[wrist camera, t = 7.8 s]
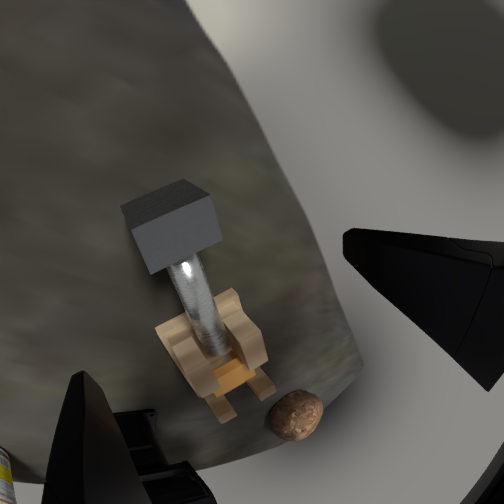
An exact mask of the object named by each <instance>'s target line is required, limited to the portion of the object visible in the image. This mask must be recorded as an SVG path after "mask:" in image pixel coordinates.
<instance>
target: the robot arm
mask: <svg viewBox="0 0 504 504" xmlns="http://www.w3.org/2000/svg"><path fill="white" fill-rule="evenodd" d="M343 255H344V257H345V259H346V260H347V261H348V262H349V263H350V264H351V265H352V266H353V267H354V268H355V269H356V270H357V271H358V272H359V273H360V274H361V275H362V276H363V277H364V278H365V279H366V280H367V281H368V283H369V284H370V285H371V286H372V287H374V288H375V289H376V290H377V291H378V292H379V293H380V294H382V295H383V296H384V297H385V298H386V299H387V300H389V301H390V302H391V303H392V304H393V305H394V306H395V307H397V308H398V309H399V310H400V311H401V312H402V313H403V314H405V315H406V316H407V317H408V318H409V319H410V320H411V321H413V322H414V323H415V324H416V325H417V326H418V327H419V328H420V329H422V330H423V331H424V332H425V333H426V334H427V335H428V336H429V337H430V338H431V339H432V340H434V341H435V342H436V343H437V344H438V345H439V346H440V347H441V348H442V349H443V350H444V351H445V352H447V353H448V354H449V355H450V356H451V357H452V358H453V359H454V360H455V361H456V362H457V363H458V364H459V365H460V366H461V367H462V368H463V369H464V370H465V371H466V372H467V373H468V374H469V375H470V376H471V377H473V379H475V380H476V381H477V382H478V383H479V384H480V385H481V386H482V387H483V388H484V389H485V390H486V391H487V392H489V391H490V390H491V388H492V387H493V386H494V385H495V383H496V382H497V381H498V380H499V378H500V377H501V376H502V374H503V373H504V242H494V241H480V240H467V239H458V238H447V237H440V236H431V235H422V234H412V233H403V232H393V231H382V230H370V229H359V228H352V229H350V230H348V231H346V232H345V233H344V234H343ZM156 416H157V414H156V411H155V410H153V409H150V410H142V411H133V412H124V413H112V411H111V409H110V407H109V404H108V402H107V399H106V397H105V395H104V392H103V390H102V389H101V387H100V386H99V385H98V384H97V383H96V382H95V381H94V380H93V379H92V377H91V376H90V375H89V374H88V373H87V372H86V371H80V372H78V373H76V374H74V375H72V377H71V380H70V383H69V386H68V389H67V392H66V395H65V399H64V402H63V405H62V409H61V412H60V416H59V420H58V423H57V427H56V431H55V435H54V439H53V443H52V448H51V452H50V457H49V462H48V467H47V472H46V478H45V480H46V482H45V483H44V490H43V495H42V502H41V504H217V502H216V500H215V497H214V495H213V494H212V492H211V490H210V489H209V487H208V486H207V485H206V484H205V482H204V481H203V480H202V479H201V478H200V476H199V475H198V474H197V473H196V471H195V470H194V469H193V467H192V466H191V465H190V464H189V462H188V461H182V462H181V463H177V464H172V465H169V464H168V461H167V459H166V457H165V455H164V453H163V451H162V449H161V447H160V445H159V442H158V440H157V438H156V436H155V428H156ZM460 504H504V442H503V444H502V445H501V447H500V449H499V450H498V452H497V453H496V455H495V457H494V458H493V460H492V461H491V463H490V464H489V466H488V467H487V469H486V470H485V472H484V473H483V474H482V476H481V477H480V479H479V480H478V481H477V483H476V484H475V485H474V487H473V488H472V489H471V491H470V492H469V493H468V494H467V496H466V497H465V498H464V499H463V500H462V502H461V503H460Z"/></svg>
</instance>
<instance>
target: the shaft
mask: <svg viewBox="0 0 504 504" xmlns="http://www.w3.org/2000/svg"><path fill="white" fill-rule="evenodd" d="M120 207H121V209H122V212H123V214H124V217H125V219H126V222H127V224H128V226H129V229H130V231H131V234H132V236H133V238H134V241H135V243H136V245H137V247H138V249H139V252H140V254H141V256H142V258H143V260H144V262H145V264H146V266H147V268H148V270H149V272H150V274H153V273H155V272H157V271H159V270H161V269H163V268H167V271H168V273H169V275H170V278H171V280H172V282H173V284H174V287H175V289H176V291H177V294H178V296H179V298H180V300H181V302H182V305H183V307H184V309H185V311H186V313H187V315H188V318H189V320H190V322H191V324H192V326H193V328H194V330H195V332H196V334H197V336H198V338H199V340H200V342H201V345H202V347H203V349H204V351H205V352H206V353H207V354H208V355H210V356H219V355H222V354H224V353H225V352H226V351H227V350H228V349H229V347H230V340H229V337H228V335H227V332H226V329H225V327H224V324H223V321H222V319H221V316H220V313H219V310H218V308H217V305H216V302H215V300H214V297H213V294H212V291H211V288H210V286H209V283H208V280H207V277H206V274H205V271H204V268H203V266H202V263H201V260H200V257H199V254H198V252H199V251H201V250H203V249H205V248H207V247H209V246H211V245H213V244H215V243H218V242H220V241H222V240H223V238H222V234H221V230H220V227H219V223H218V219H217V216H216V212H215V208H214V204H213V201H212V197H211V195H210V194H209V193H207V192H205V191H204V190H202V189H200V188H198V187H197V186H195V185H193V184H192V183H190V182H188V181H186V180H185V179H182V180H180V181H177V182H175V183H172V184H170V185H167V186H165V187H162V188H160V189H158V190H155V191H153V192H151V193H148V194H146V195H144V196H141V197H139V198H137V199H134V200H132V201H130V202H128V203H126V204H123V205H121V206H120Z"/></svg>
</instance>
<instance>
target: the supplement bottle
mask: <svg viewBox="0 0 504 504" xmlns="http://www.w3.org/2000/svg"><path fill="white" fill-rule="evenodd" d="M0 504H17V503H16V498H15V493H14V487H13V481H12V474H11V466H10V459H9V456H8V455H7V453H6V452H5V451H4V450H2V449H1V448H0Z"/></svg>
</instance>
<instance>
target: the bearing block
mask: <svg viewBox="0 0 504 504" xmlns="http://www.w3.org/2000/svg"><path fill="white" fill-rule="evenodd" d="M214 300H215V302H216V305H217V308H218V310H219V313H220V316H221V319H222V321H223V324H224V327H225V329H226V332H227V335H228V337H229V340H230V347H229V349H228V350H227V351H226V352H225V353H224V354H222V355H219V356H210V355H208V354H207V353H206V352H205V351H204V349H203V347H202V345H201V342H200V340H199V338H198V336H197V334H196V332H195V330H194V328H193V326H192V324H191V322H190V320H189V318H188V315H187V313H186V312H184V313H182V314H180V315H178V316H176V317H174V318H173V319H171V320H169V321H167V322H165V323H163V324H161V325H159V326H157V327H155V330H156V332H157V334H158V336H159V338H160V339H161V341H162V343H163V344H164V346H165V347H166V349H167V351H168V352H169V354H170V355H171V357H172V358H173V360H174V362H175V363H176V365H177V366H178V368H179V369H180V371H181V372H182V374H183V375H184V377H185V378H186V380H187V381H188V383H189V384H190V386H191V387H192V388H193V390H194V391H195V393H196V394H197V396H198V397H199V398H200V397H202V398H205V400H206V402H207V403H208V405H209V407H210V408H211V410H212V411H213V413H214V415H215V416H216V418H217V419H218V421H219V422H220V423H221V425H222V424H223V423H225V422H227V421H229V420H231V419H232V418H234V417H236V416H237V414H236V412H235V411H234V409H233V408H232V406H231V405H230V403H229V402H228V400H227V399H226V397H225V396H224V394H223V395H221V396H219V397H216V396H215V394H214V392H215V391H217V390H219V389H221V386H220V384H219V382H218V381H217V379H216V377H215V375H214V373H213V371H214V370H216V369H217V368H219V367H221V366H223V365H225V364H226V363H228V362H230V361H232V360H233V359H234V358H233V356H232V354H231V351H232V350H234V351H235V353H236V354H237V355H238V357H239V358H240V359H241V360H242V362H243V363H244V364H245V366H246V367H247V368H248V369H249V371H252V370H255V373H256V375H255V376H254V377H252V378H250V379H249V380H247V381H245V382H246V383H247V384H248V385H249V386H250V388H251V389H252V390H253V392H254V393H255V394H256V395H257V397H258V398H259V399H260V400H261V401H263V400H264V399H266V398H268V397H269V396H271V395H272V394H274V393H276V388H275V384H274V383H273V382H272V381H271V380H270V379H269V377H268V376H267V375H266V374H265V373H264V372H263V370H262V369H261V368H260V367H259V366H260V365H262V364H263V363H265V362H267V361H268V357H267V353H266V349H265V345H264V341H263V337H262V334H261V331H260V329H259V328H258V327H257V326H256V325H255V324H254V323H253V322H252V321H251V320H250V319H249V318H248V317H247V315H246V314H245V313H244V312H243V310H242V307H241V304H240V300H239V297H238V294H237V293H236V292H235V291H234V289H233V288H230V289H228V290H226V291H224V292H223V293H221V294H219V295H217V296H215V297H214ZM245 382H244V383H245ZM242 384H243V383H242ZM240 385H241V384H240ZM240 385H238V386H240ZM238 386H237V387H238ZM235 388H236V387H235ZM235 388H233V389H235ZM233 389H232V390H233ZM230 391H231V390H230ZM228 392H229V391H228ZM228 392H226V393H228ZM226 393H225V394H226Z"/></svg>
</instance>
